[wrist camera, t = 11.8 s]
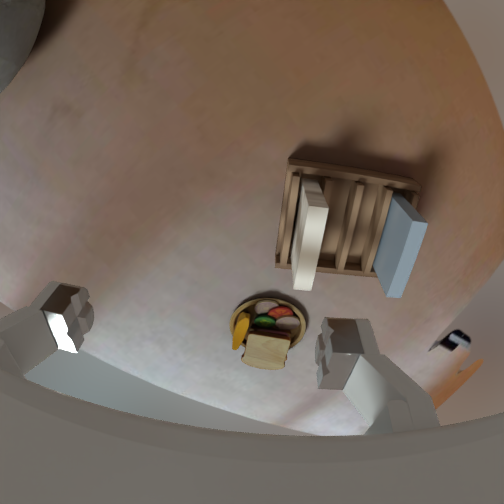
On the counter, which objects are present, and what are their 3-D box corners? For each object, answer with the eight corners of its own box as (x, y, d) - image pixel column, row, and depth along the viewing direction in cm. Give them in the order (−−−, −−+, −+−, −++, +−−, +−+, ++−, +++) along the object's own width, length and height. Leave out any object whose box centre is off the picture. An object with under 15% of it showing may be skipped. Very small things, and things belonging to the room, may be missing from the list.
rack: (287, 158, 38) (292, 184, 29) (412, 178, 38) (446, 208, 29) (275, 255, 45) (275, 301, 36) (386, 266, 45) (407, 310, 36)
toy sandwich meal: (317, 305, 50) (320, 325, 46) (287, 357, 56) (287, 377, 52) (241, 284, 48) (238, 304, 44) (221, 341, 55) (217, 361, 51)
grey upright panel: (386, 190, 38) (412, 220, 30) (400, 193, 38) (428, 223, 30) (368, 257, 43) (386, 296, 35) (381, 258, 43) (400, 297, 35)
